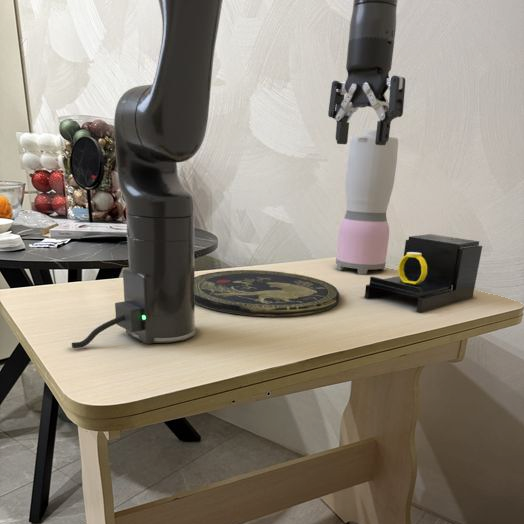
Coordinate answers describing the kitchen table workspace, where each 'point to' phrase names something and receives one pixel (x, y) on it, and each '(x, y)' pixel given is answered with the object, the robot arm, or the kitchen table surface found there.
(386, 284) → the black stepped block
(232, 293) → the decorative plate
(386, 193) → the blender
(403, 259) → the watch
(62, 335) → the kitchen table surface
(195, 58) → the robot arm
